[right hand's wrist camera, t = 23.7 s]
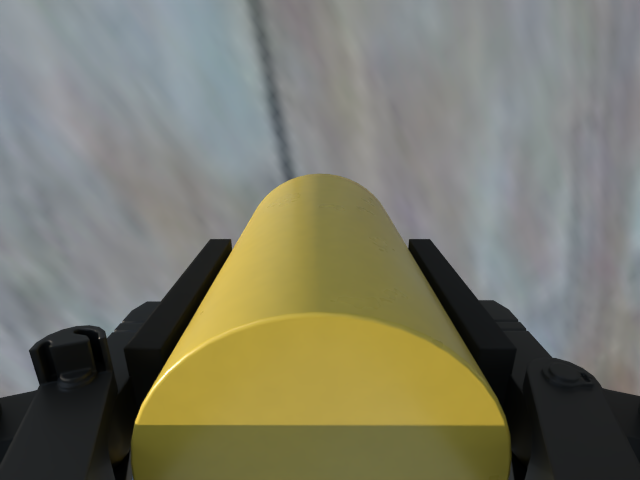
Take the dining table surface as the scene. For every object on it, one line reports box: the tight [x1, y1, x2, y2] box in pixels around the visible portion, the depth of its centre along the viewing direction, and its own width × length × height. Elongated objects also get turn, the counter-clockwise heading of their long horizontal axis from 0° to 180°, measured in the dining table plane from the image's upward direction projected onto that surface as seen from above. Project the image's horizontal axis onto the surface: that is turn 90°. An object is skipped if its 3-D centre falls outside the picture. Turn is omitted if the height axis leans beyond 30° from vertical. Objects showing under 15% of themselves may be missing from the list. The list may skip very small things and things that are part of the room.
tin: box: [131, 174, 512, 480], centre depth 12 cm, size 6×6×11 cm
